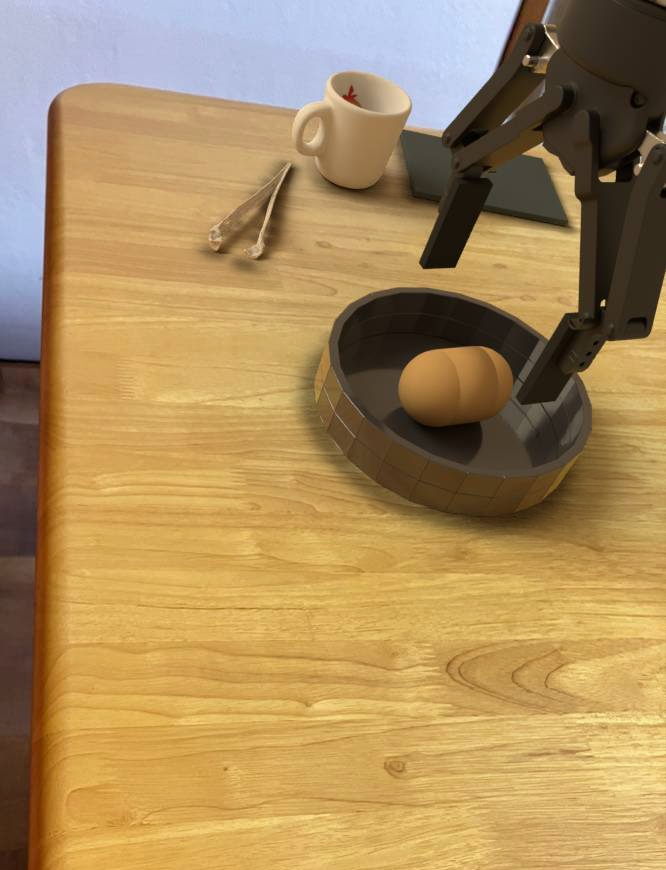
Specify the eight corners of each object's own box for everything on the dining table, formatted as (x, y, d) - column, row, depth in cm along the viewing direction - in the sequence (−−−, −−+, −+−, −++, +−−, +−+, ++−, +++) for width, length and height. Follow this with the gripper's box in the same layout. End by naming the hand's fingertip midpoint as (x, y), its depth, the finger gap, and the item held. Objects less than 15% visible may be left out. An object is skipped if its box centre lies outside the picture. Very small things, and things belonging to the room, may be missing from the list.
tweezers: (257, 267, 72) (262, 245, 71) (203, 248, 73) (207, 225, 71) (310, 185, 84) (315, 165, 83) (263, 169, 85) (268, 148, 83)
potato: (472, 382, 68) (501, 327, 64) (507, 433, 65) (540, 378, 61) (376, 393, 65) (400, 336, 61) (408, 447, 62) (436, 390, 58)
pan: (532, 353, 73) (557, 310, 70) (590, 537, 61) (624, 495, 58) (306, 315, 70) (321, 268, 66) (320, 502, 58) (339, 455, 54)
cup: (299, 201, 80) (323, 115, 74) (265, 153, 84) (284, 68, 78) (399, 197, 84) (428, 115, 78) (362, 151, 88) (387, 70, 82)
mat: (539, 163, 95) (542, 158, 95) (565, 226, 88) (568, 221, 87) (399, 134, 92) (401, 128, 92) (413, 196, 85) (415, 190, 85)
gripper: (476, -129, 48) (358, 218, 64) (778, 114, 35) (534, 473, 51) (583, -111, 51) (444, 217, 67) (899, 120, 38) (631, 458, 54)
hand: (482, 328), depth 59 cm, fingers open, 13 cm apart
